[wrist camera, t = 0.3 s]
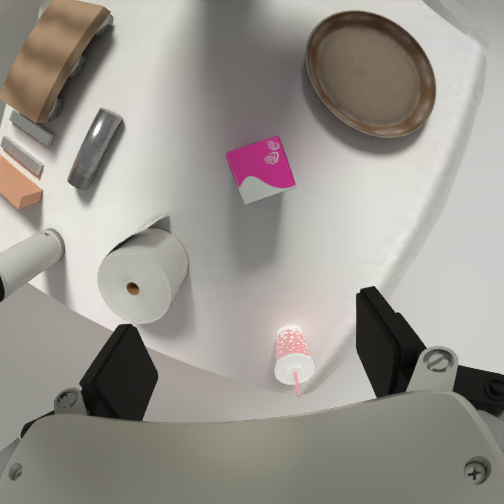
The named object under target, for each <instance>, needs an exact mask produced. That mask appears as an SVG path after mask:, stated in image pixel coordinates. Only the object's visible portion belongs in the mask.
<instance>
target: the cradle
mask: <svg viewBox="0 0 504 504" xmlns="http://www.w3.org/2000/svg"><path fill="white" fill-rule="evenodd" d="M9 120H11V121H12V122H13V123H15V124H16V125H18V126H19V127H20V128H22V129H23V130H24V131H26V132H27V133H29V134H30V135H31V136H33V137H34V138H36V139H37V140H39V141H40V142H41V143H43V144H44V145H46V146H51V144H52V141H53V139H54V137H55V135H53V134H52V133H50V132H49V131H47V130H46V129H44V128H43V127H41V126H40V125H38V124H37V123H35V122H34V121H32V120H30V119H29V118H27V117H26V116H24V115H23V114H21V113H20V112H18V111H17V110H13V111H12V114H11V116H10V119H9ZM1 147H2V148H4V149H5V150H6V151H7V152H8V153H10V154H11V155H12V156H13V157H14V158H16V159H17V160H18V161H19V162H20V163H22V164H23V165H24V166H25V167H27V168H28V169H29V170H30V171H32V172H33V173H34V174H35V175H40V174H41V171H42V168H43V165H44V164H42V163H41V162H40V161H38V160H37V159H36V158H34V157H33V156H32V155H30V154H29V153H28V152H26V151H25V150H24V149H22V148H21V147H20V146H19V145H17V144H16V143H15V142H14V141H12V140H11V139H10V138H8V137H7V136H4V137H3V139H2V142H1Z"/></svg>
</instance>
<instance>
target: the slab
mask: <svg viewBox="0 0 504 504" xmlns="http://www.w3.org/2000/svg"><path fill="white" fill-rule="evenodd" d="M110 13H111V12H110V11H109V10H107V9H106V8H105V7H104V6H100V5H95V4H91V3H86V2H81V1H76V0H52V2H51V3H50V5H49V6H48V7H47V9H46V10H45V12H44V13H43V15H42V16H41V18H40V19H39V21H38V22H37V24H36V25H35V27H34V28H33V30H32V32H31V34H30V35H29V37H28V38H27V40H26V42H25V44H24V45H23V47H22V49H21V51H20V53H19V55H18V56H17V58H16V60H15V62H14V64H13V66H12V68H11V71H10V72H9V75H8V77H7V79H6V81H5V83H4V86H3V88H2V90H1V93H0V99H1V100H2V101H4V102H5V103H7V104H8V105H10V106H11V107H12V108H14V109H15V110H17V111H18V112H20V113H21V114H23V115H24V116H26V117H27V118H29V119H30V120H32V121H34V122H35V123H46V121H47V119H48V117H49V114H50V112H51V110H52V108H53V106H54V104H55V101H56V99H57V97H58V95H59V93H60V91H61V89H62V88H63V86H64V84H65V82H66V80H67V78H68V76H69V75H70V73H71V71H72V69H73V68H74V66H75V64H76V62H77V61H78V59H79V58H80V56H81V54H82V53H83V51H84V50H85V48H86V47H87V45H88V43H89V42H90V40H91V39H92V38H93V36H94V35H95V33H96V32H97V30H98V29H99V28H100V26H101V25H102V23H103V22H104V21H105V19H106V18H107V17H108V16H109V14H110Z"/></svg>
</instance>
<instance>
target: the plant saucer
mask: <svg viewBox="0 0 504 504" xmlns="http://www.w3.org/2000/svg"><path fill="white" fill-rule="evenodd" d="M305 61H306V68H307V72H308V76H309V78H310V81H311V83H312V86H313V88H314V89H315V91H316V93H317V95H318V96H319V98H320V99H321V101H322V102H323V103H324V104H325V106H326V107H327V108H328V109H329V110H330V111H331V112H332V113H333V114H334V115H335V116H336V117H337V118H339V119H340V120H341V121H342V122H344V123H345V124H347V125H348V126H350V127H352V128H354V129H355V130H357V131H360V132H362V133H365V134H367V135H371V136H375V137H380V138H397V137H402V136H406V135H409V134H411V133H413V132H414V131H416V130H417V129H419V128H420V127H421V126H422V125H423V124H424V123H425V122H426V121H427V119H428V118H429V116H430V114H431V112H432V110H433V108H434V104H435V99H436V81H435V75H434V72H433V68H432V66H431V63H430V61H429V59H428V57H427V55H426V53H425V52H424V50H423V49H422V47H421V46H420V44H419V43H418V42H417V41H416V40H415V39H414V37H413V36H412V35H411V34H409V33H408V32H407V31H406V30H405V29H404V28H402V27H401V26H400V25H398V24H397V23H395V22H393V21H392V20H390V19H388V18H386V17H383V16H381V15H378V14H375V13H372V12H367V11H359V10H349V11H342V12H338V13H335V14H332V15H330V16H328V17H327V18H325V19H323V20H322V21H321V22H320V23H319V24H318V25H317V26H316V27H315V28H314V29H313V31H312V33H311V34H310V36H309V39H308V42H307V45H306V52H305Z"/></svg>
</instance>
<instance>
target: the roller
mask: <svg viewBox="0 0 504 504" xmlns="http://www.w3.org/2000/svg"><path fill="white" fill-rule="evenodd" d="M121 120H122V117H121V116H119V115H118V114H116V113H114V112H112V111H110V110H107V109H104V108H100V109H99V111H98V113H97V115H96V117H95V119H94V121H93V122H92V124H91V126H90V128H89V131H88V133H87V135H86V137H85V139H84V141H83V143H82V145H81V148H80V150H79V152H78V154H77V157H76V159H75V161H74V164H73V166H72V169H71V171H70V174H69V176H68V179H67V181H68V182H69V183H70V184H71V185H72V186H74V187H76V188H79V189H88V188H89V186H90V184H91V181H92V179H93V177H94V174H95V172H96V170H97V168H98V165H99V163H100V161H101V159H102V157H103V155H104V153H105V151H106V149H107V147H108V145H109V143H110V141H111V139H112V137H113V135H114V133H115V131H116V129H117V127H118V126H119V124H120V122H121Z"/></svg>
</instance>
